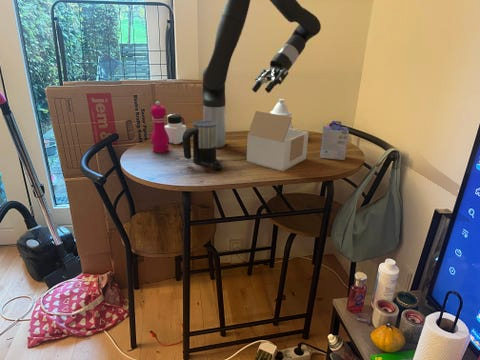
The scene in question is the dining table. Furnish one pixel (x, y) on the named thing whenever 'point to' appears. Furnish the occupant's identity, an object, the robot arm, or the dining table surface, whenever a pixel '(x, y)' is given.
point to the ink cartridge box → (334, 141)
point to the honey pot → (282, 110)
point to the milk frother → (202, 143)
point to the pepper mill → (159, 129)
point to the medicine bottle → (175, 128)
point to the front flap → (270, 126)
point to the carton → (278, 150)
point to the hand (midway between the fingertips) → (260, 91)
